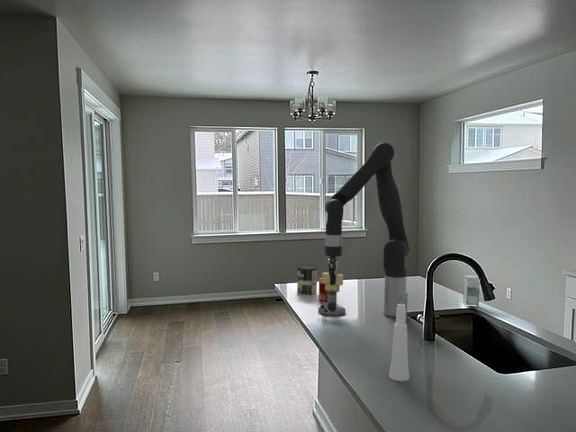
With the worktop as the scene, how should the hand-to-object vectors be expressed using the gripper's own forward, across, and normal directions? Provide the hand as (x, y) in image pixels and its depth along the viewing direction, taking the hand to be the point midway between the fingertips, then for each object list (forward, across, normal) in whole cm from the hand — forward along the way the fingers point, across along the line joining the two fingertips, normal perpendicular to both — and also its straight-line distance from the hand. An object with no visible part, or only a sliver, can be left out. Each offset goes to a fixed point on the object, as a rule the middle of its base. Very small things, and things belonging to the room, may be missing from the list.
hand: (332, 283), depth 205 cm
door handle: (+3, 0, +1) cm, 3 cm away
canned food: (+13, +19, +5) cm, 23 cm away
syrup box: (+14, +28, -62) cm, 70 cm away
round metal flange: (+13, 0, 0) cm, 13 cm away
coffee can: (+13, +31, +17) cm, 38 cm away
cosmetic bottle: (+14, -64, -27) cm, 71 cm away
